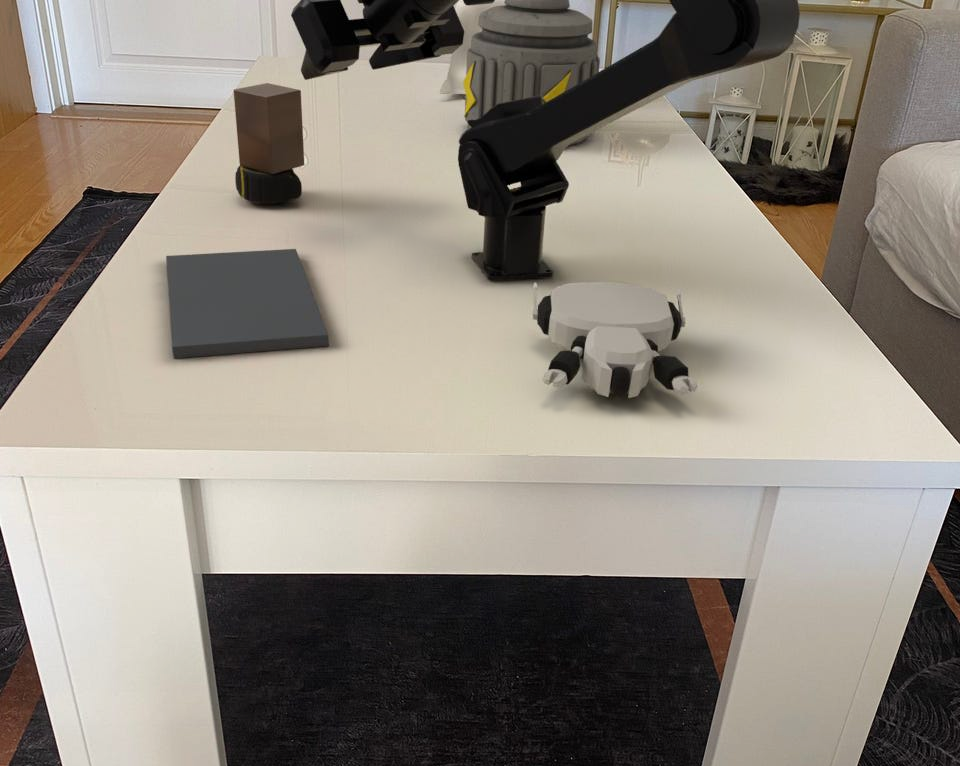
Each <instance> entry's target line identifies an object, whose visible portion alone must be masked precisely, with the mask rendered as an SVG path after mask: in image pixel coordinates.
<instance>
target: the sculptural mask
mask: <svg viewBox="0 0 960 766" xmlns="http://www.w3.org/2000/svg"><path fill="white" fill-rule="evenodd" d="M504 2H505V0H495V1H494V2H493V3H492V4H481V5H470V6H467V5H465V4H464V2H463V0H459V1H458V2H457V3H456V4H455V5H456V6H455V10H456V13H457V15H458V17H459V20H460V22H461V24H462V27H463V29H464V38H463V45H461V46H460V47H459V48H458V49H457V50H455V51H454V52H453V53H452V54H450V55H451V56H450V63H449V67H448V71H447V75H446V79H445V80H444V81H443V83H442V84H441V86H440V89H439V93H438V94H439V95H466V93H465V89H464V85H463V81H464V79H465V77H466V67H467V51H468V49H471V38H472V37H473V35H474V34H475V33H479V32H482V28H481V27H480V26H479V25H478V21H479V16H480V14H481V13H482V12H483V11H485V10H487V9H490V8H492V7H495V6H501V5H506V4H505V3H504Z"/></svg>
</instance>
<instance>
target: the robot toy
mask: <svg viewBox="0 0 960 766" xmlns="http://www.w3.org/2000/svg"><path fill="white" fill-rule="evenodd" d="M681 292H682V291H681V290H679V289H677V291H676V293H675V297H676V299H677V305H678V308H677V307H676V305H675V303H674V302H672V301H669V300H668V297H667V295H666V294H665V293H663V292H661V291H658V290H656V289H653V288H651V287H647V286H641V285H635V284H630V283H623V282H622V283H621V282H613V281H581V282H580V281H579V282H572V283H571V282H570V283H564V284H562V285H559V286H556V287H555V288H552V290H551V292H550V293H549V295H545V296H543V298H541V300H540V302H539V303H538V301H537V300H538V299H537V298H538V297H537V296H538V283H537V282H533V311H532V320H534V321H535V320H536V324H537V325H538V327H539V329H540V330H541V332H542V333H543V335H546V336H549V339H550V340H549V341H550V342H551V343H553V344H554V345H555V346H557V347H560V348H562V349H564V350H560V351H559V352H558V353H556V355H555V356H554V357H553V358H552V359H551V360H550V363H549V365H548V367H547V370H545V372H544V373H543V375H542V378H541V379H542V382H543V384H545V385H548V386H550V385H551V384H552V387H555V388H559V389H561V388H562V387H564V386H565V385H569V384H571V382H572V381H573V380H574V379H575V377H576V376H577V375H578V373H579V371H580V368H581V360H583V361H582V368H581V378H582V380H583V381H584V383H585V384H586V385H587V386H588V387H589V390H591V391H593V392H595V393H596V394H597V395H600V396H603V397H607V398H609V395H611V394H612V395H613V396H615V397H624V396H626V395H628V398H627V399H630V398H631V399H632V398H634V397H638V396H639V394H640V393H641V391H642V390H643V389H644V388H645V387H647V386H648V383H649V381H650V376H651V375H650V374H651V370H653V375H654V379H655V380H656V381H657V382H659V383H660V384H661V385H662V386H663V387H664V388H665V389H666V390H669V391H674V392H676V393H677V394H679V395H683V394H684V395H686V394H689V392H690V393H693V392H696V390H697V389H698V384H697V381H696V379H695V378H694V377H691V376H689V367H688V366H687V365H686V364H684V363H683V361H681V360H680V359H679V358H678V357H677V356H672V355H663V354H662V355H660V353H659V352H661V351H663V350H665V349H666V348H668V346H669V344H670V343H671V342H672V341H675V340H677V339H678V337H679V335H680V333H681V330H682V328H685V326H686V323H687V322H686V317H685V316H684V312H683V305H682V297H681V296H682V293H681ZM652 367H653V369H652Z"/></svg>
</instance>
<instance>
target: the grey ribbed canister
mask: <svg viewBox="0 0 960 766" xmlns="http://www.w3.org/2000/svg"><path fill="white" fill-rule="evenodd" d="M504 3H505V4H506V5H501V6H495V7H492V8H490V9H487V10H485V11H483V12H482V13H481V14H480V16H479V21H478V25H479V26H480V27H481V28H482V32H479V33H475V34H474V35H473V37H472V38H471V49H468V51H467V67H466V77H465V79H464V81H463V85H464V89H465V93H466V94H464V95H465V96H464V99H465V100H464V102H465V103H464V115H463V118H464V119H465V121H466V122H467V121H468V120H471V119H476V118H480V117H482V116H483V115H485V114H486V113H487V112H488V111H489V110H490V109H491V108H492V107H494V106H495V105H497V104H498V103H503V102H508V101H513V100H518V99H523V98H529V97H534V96H539V95H540V96H541V99H542V104H544V103H546V102H548V101H549V100H551V99H553V98H555V97H556V96H558V95H560V94H562V93H563V92H565V91H567V90H568V89H570V88H572V87H574V86H575V85H577V84H579V83H581V82H582V81H584V80H586V79H588V78H589V77H591V76H593V75H595V74H596V73H598V72H600V63H601V60H600V57H599V55H598V43H597V42H596V40H594V39H592V38H590V37H588V36H589V35H590V34H592V33H593V19H592V18H590V17H589V16H587V15H586V14H584V12H583V13H582V12H580V11H579V10H576V9H572V8H570V7H571V5H570V0H505V2H504ZM470 128H472V127H471V126H470V125H469V124H468V123H467V129H470ZM588 137H589V134H588V135H586V136H584V137H582V138H580V139H578V140H577V141H575V142H573V143H571V144H569V145H568V146H567V147H570V146H573V145H577V144H580V143H581V142H583V141H584V140H586V139H587V138H588Z"/></svg>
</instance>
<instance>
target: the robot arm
mask: <svg viewBox="0 0 960 766" xmlns="http://www.w3.org/2000/svg"><path fill="white" fill-rule="evenodd" d="M458 1H459V0H357V2H358V4H362V5H363V8H362V17H363V18H353V19H352V18H351V19H350V18H349V16H348V14H347V12H346V10H345V7H344V4H343V2H342V0H299V1H298V2H297V4H296V5H295V6H294V7H293V8H292V11H291V13H290V17H291V18H292V20H293V23H294V25H295V28H296V29H297V30H296V31H297V32H298V34H299V36H300V37H299V38H300V39H301V41H302V43H303V46H304V48H305V51H304V57H303V60H302V63H301V67H300V73H301V75H302V78H303V79H304V81H309V80H312V79H317V78H322V77H325V76H328V75H333V74H338V73H343V72H347V71H348V70H349V67H351V66H353V65H354V64H355V63H356V62H357V61H359V59H360V49H361V48H367V47H374V46H377V48H376V49H375V50H374V52H373V53H372V54H371V56H370V57H369V59H368V63H369V65H370V67H371V69H372V70H374V71H375V70H381V69H384V68H385V69H386V68H389V67H390V68H391V67H395V66H399V65H400V66H401V65H404V64H410V63H415V62H419V61H424V60H429V59H430V60H431V59H434V58H439V57H442V56H445V55H452V53H453V52H454V51H455V50H457V49H458V48H459V47H460V46H461V45H463V38H464V29H463V27H462V24H461V22H460V20H459V17H458V15H457V13H456V7H455V5H457V2H458ZM494 1H495V0H463V2H464V4H465V5H467V6H470V5H481V4H492V3H493V2H494ZM669 4H670V5H671V6H672V8H673V9H674V11H675V13H674V14H673V15H672V16H671V18H670V19H669V20H668V21H667V23H666V25H665V26H664V28H662V30H661V31H660V33H659V35H658V36H656V37H655V38H654V39H653V40H651V41H650V42H648V43H647V44H645V45H643V46H641V47H640V48H637V49H636V50H635V51H634V50H633V52H631V53H629V54H627V55H625V56H623V57H621V58H620V59H619V60H617V61H615V62H613V63H612V64H610V65H608V66H607V67H605V68H602V69H601V70H599V72H598V73H596V74H595V75H593V76H591V77H589V78H588V79H586V80H584V81H582V82H581V83H579V84H577V85H575V86H574V87H572V88H570V89H568V90H567V91H565V92H563V93H562V94H560V95H558V96H556V97H555V98H553V99H551V100H549V101H548V102H546V103H544V104H542V99H541V96H540V95H539V96H534V97H529V98H523V99H518V100H513V101H508V102H503V103H498V104H497V105H495V106H494V107H492V108H491V109H490V110H489V111H488V112H487V113H486V114H485V115H483V116H482V117H480V118H476V119H471V120H468V121H466V123H467V125H468V124H469V125H470V126H471V127H472V128H470V129H468V128H467V129H465V131H464V132H463V133H462V134H461V136H460V137H459V139H458V144H459V146H458V154H457V163H458V168H459V173H460V179H461V182H462V187H463V191H464V197H465V200H466V206H467V208H468V209H469V210H472V211H475V212H477V213H478V216H481V217H484V225H483V243H482V245H483V247H482V251H475V252H472V253H471V260H472V261H473V262H474V263H475V264H476V266H477V267H478V268H479V270H480V271H481V272H482V274H483V275H484V276H485V277H486V279H487V280H489V281H492V282H493V281H494V282H495V281H506V280H507V281H509V280H524V279H525V280H526V279H538V278H551V277H553V276H554V270H553V269H552V267H550V266H549V265H548V264H547V262H545V260H543V248H544V238H545V237H544V236H545V226H546V225H545V224H546V213H547V206H549V205H554V204H560V203H563V201H564V198H565V196H566V194H567V191H568V189H569V186H570V184H569V180H568V179H567V177H566V175H565V173H564V172H563V170H562V169H561V167H560V165H559V164H558V162H557V161H558V160H559V159H560V157H561V156H562V155H563V153H564V151H565V150H566V148H568V147H569V146H568V145H569V144H571V143H573V142H575V141H577V140H578V139H580V138H582V137H584V136H586V135H588V136H589V135H590V134H592V133H594V132H596V131H599V130H600V129H602V128H604V127H606V126H607V125H609V124H612V123H613V122H615V121H617V120H620V119H621V118H623V117H625V116H627V115H629V114H631V113H632V112H635V111H636V110H638V109H640V108H643V107H644V106H646V105H648V104H650V103H652V102H654V101H655V100H658V99H659V98H662V97H663V96H665V95H668V94H669V93H671V92H673V91H675V90H677V89H679V88H681V87H683V86H685V85H687V84H688V83H689V84H690V82H693V81H696V80H700V79H703V78H707V77H711V76H715V75H718V74H719V75H720V74H722V73H726V72H729V71H730V72H731V71H734V70H738V69H741V68H745V67H748V66H752V65H755V64H759V63H762V62H765V61H766V62H767V61H769V60H773V59H775V58H778V57H780V56H781V55H782V54H784V53H785V52H787V51H788V50H789V48H790V47H791V46H792V45H793V43H794V41H795V37H796V34H797V31H798V29H799V25H800V18H801V17H800V16H801V13H800V5H799V0H669ZM518 183H520V186H517V187H514V188H510V187H509V186H511V185H514V184H518Z"/></svg>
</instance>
